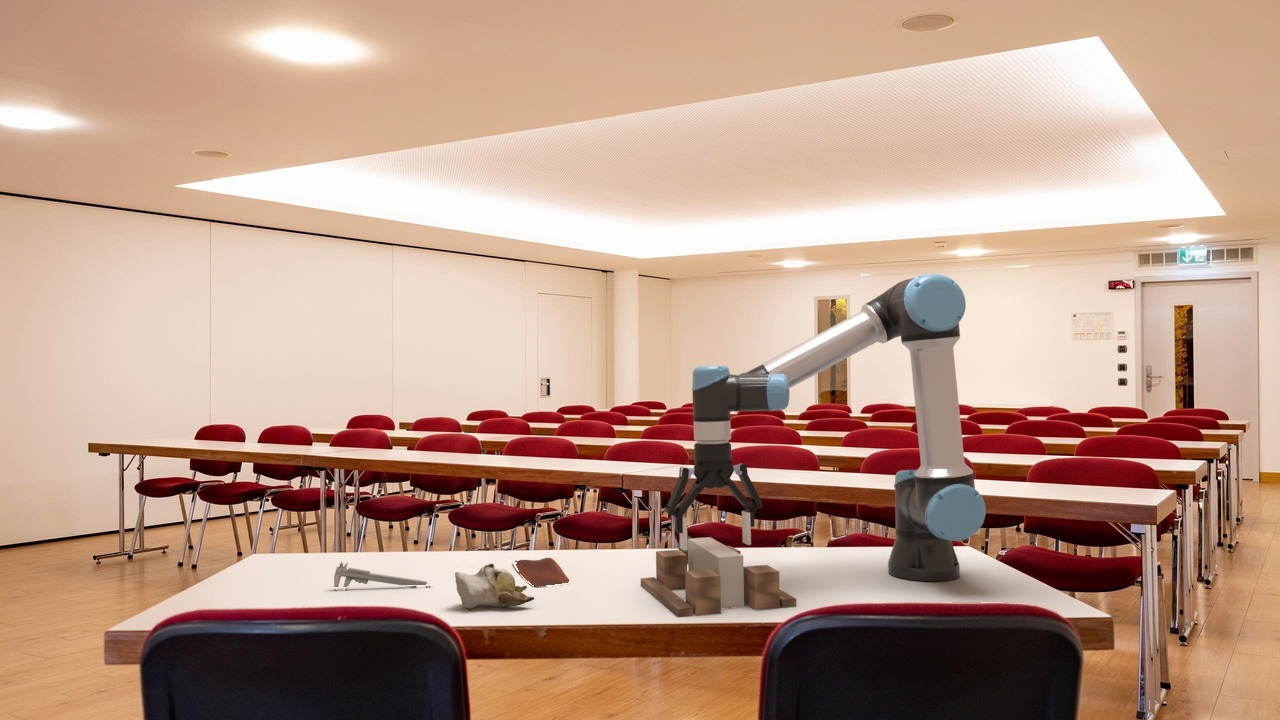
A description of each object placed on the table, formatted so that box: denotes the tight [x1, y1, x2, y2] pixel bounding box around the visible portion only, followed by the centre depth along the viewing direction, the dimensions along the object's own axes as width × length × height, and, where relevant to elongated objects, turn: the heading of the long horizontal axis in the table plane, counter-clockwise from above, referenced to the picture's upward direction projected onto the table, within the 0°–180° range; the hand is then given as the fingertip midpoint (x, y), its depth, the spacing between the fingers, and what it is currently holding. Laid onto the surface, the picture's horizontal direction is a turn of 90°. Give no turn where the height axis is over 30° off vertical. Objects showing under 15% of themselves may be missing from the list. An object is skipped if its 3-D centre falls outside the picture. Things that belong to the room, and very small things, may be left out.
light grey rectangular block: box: [687, 536, 745, 609], centre depth 187 cm, size 5×20×10 cm, turn 14°
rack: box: [640, 545, 797, 618], centre depth 187 cm, size 24×26×7 cm
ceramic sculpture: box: [454, 563, 535, 610], centre depth 182 cm, size 11×9×15 cm
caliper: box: [333, 561, 428, 588], centre depth 197 cm, size 20×1×6 cm, turn 96°
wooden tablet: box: [514, 557, 570, 588], centre depth 210 cm, size 27×10×2 cm, turn 16°
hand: (715, 546), depth 187 cm, fingers open, 13 cm apart
